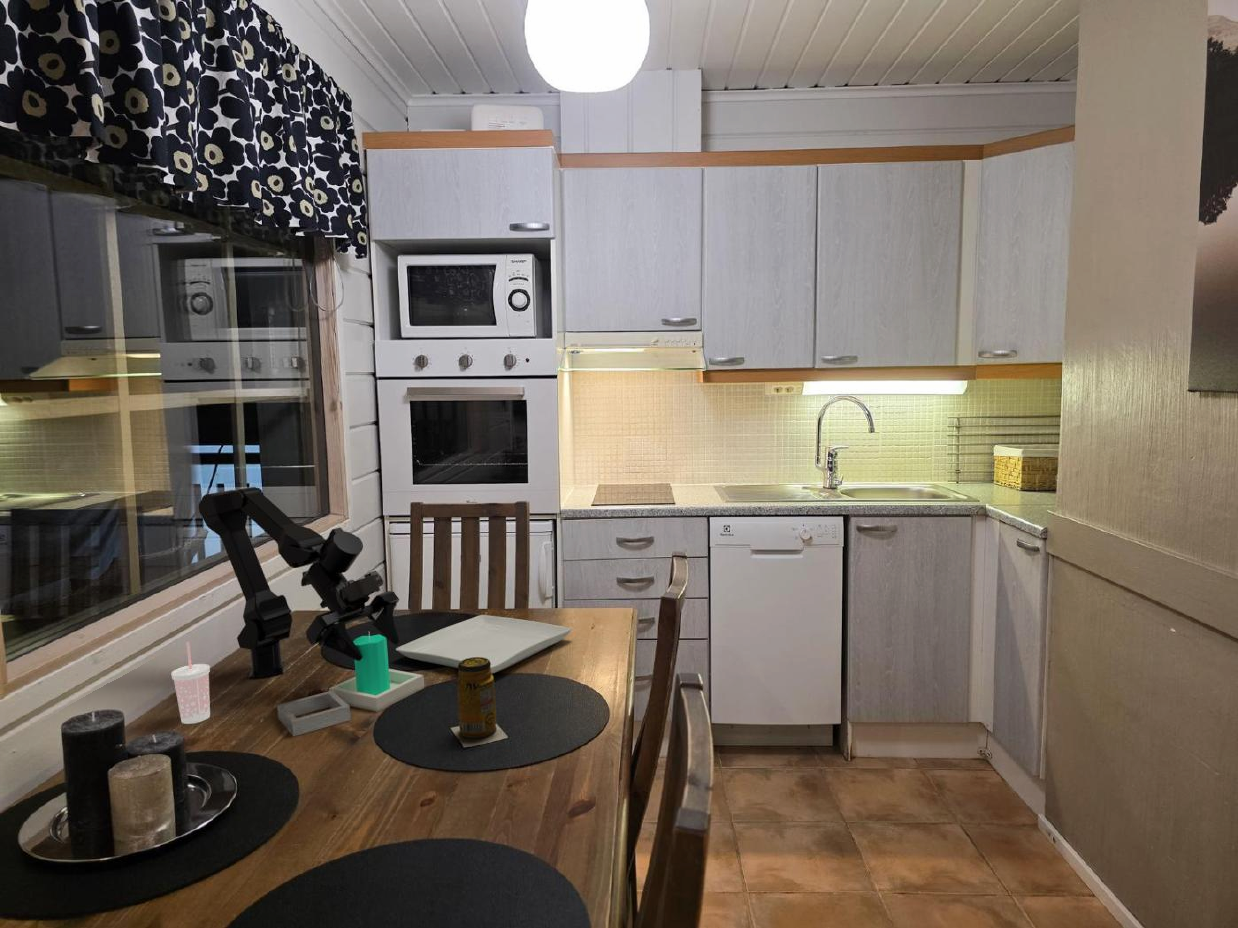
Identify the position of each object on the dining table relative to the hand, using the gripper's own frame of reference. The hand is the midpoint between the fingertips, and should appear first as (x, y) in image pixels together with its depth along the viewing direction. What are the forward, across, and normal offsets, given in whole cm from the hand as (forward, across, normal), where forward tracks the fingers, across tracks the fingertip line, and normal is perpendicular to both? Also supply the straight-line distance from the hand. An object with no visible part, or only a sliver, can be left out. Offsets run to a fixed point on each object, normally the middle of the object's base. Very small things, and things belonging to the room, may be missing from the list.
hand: (379, 651), depth 150 cm
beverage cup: (-11, -21, +23) cm, 34 cm away
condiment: (+26, -6, -13) cm, 29 cm away
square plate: (+8, +27, +4) cm, 29 cm away
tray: (+5, 0, +7) cm, 9 cm away
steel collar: (+4, -13, +8) cm, 16 cm away
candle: (+5, -1, +7) cm, 8 cm away
